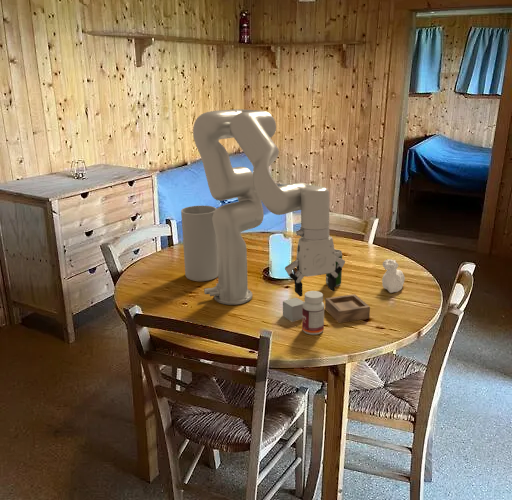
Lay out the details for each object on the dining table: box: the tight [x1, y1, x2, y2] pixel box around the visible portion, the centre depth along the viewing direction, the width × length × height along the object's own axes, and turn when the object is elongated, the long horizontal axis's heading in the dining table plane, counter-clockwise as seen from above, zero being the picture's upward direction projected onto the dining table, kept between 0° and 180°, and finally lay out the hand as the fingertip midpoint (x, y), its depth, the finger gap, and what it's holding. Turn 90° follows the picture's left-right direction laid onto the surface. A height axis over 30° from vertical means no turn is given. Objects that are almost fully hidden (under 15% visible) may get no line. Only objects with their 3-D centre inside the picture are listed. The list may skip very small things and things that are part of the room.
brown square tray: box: [324, 293, 371, 324], centre depth 159 cm, size 10×10×4 cm
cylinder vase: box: [180, 205, 218, 282], centre depth 188 cm, size 12×12×25 cm
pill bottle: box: [301, 290, 325, 336], centre depth 148 cm, size 6×6×11 cm
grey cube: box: [282, 297, 304, 323], centre depth 158 cm, size 5×5×5 cm
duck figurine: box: [381, 258, 406, 294], centre depth 177 cm, size 12×8×11 cm
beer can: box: [325, 248, 343, 288], centre depth 181 cm, size 5×5×12 cm
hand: (315, 292), depth 146 cm, fingers open, 9 cm apart
